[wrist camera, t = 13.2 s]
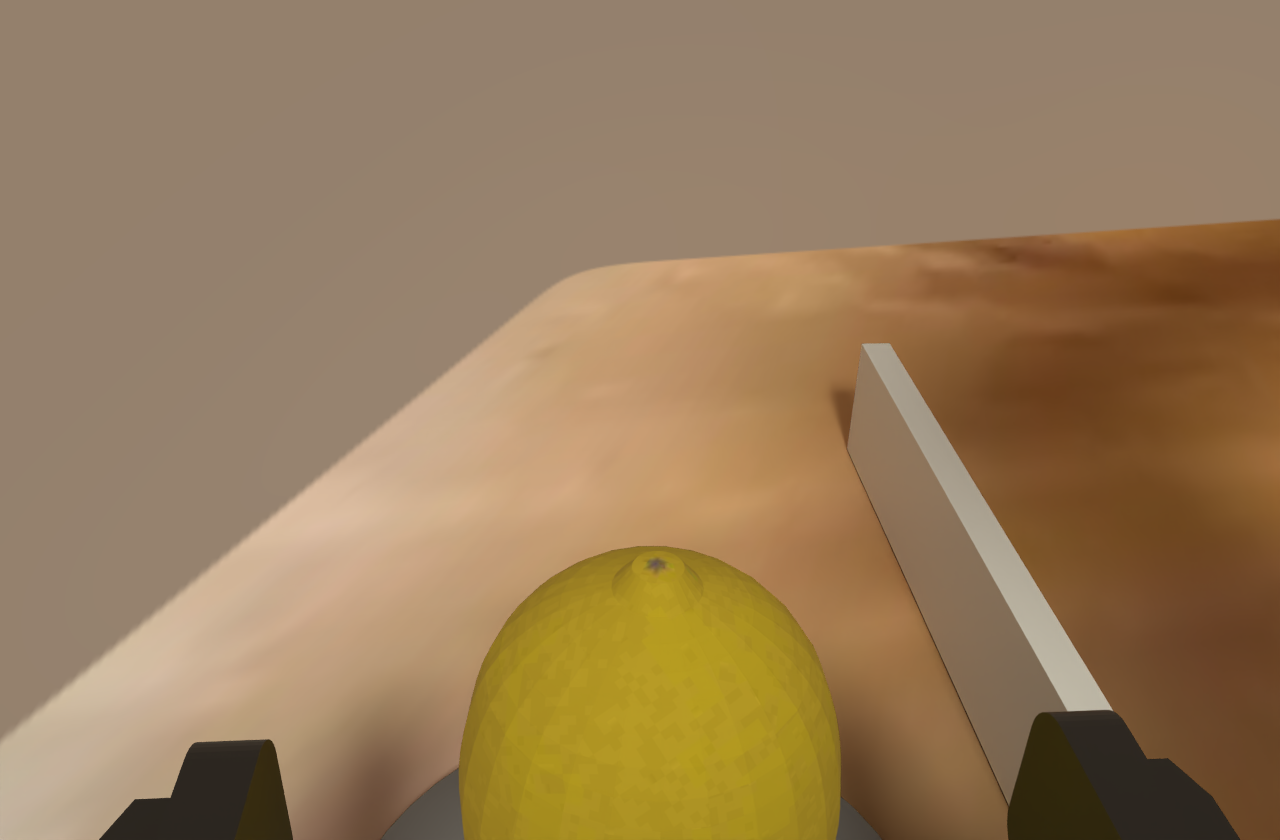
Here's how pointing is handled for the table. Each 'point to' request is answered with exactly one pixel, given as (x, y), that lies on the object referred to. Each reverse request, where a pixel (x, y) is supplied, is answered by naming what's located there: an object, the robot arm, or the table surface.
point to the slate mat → (436, 831)
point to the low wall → (962, 569)
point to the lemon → (651, 711)
